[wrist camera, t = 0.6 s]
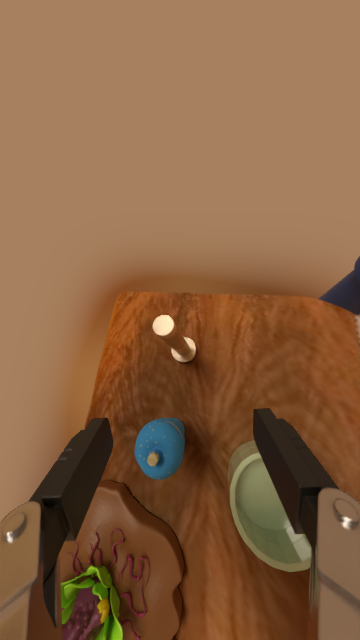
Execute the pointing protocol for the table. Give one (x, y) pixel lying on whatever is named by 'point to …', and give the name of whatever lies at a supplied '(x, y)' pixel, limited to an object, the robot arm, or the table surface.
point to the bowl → (263, 513)
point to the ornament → (160, 447)
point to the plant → (120, 572)
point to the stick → (174, 339)
